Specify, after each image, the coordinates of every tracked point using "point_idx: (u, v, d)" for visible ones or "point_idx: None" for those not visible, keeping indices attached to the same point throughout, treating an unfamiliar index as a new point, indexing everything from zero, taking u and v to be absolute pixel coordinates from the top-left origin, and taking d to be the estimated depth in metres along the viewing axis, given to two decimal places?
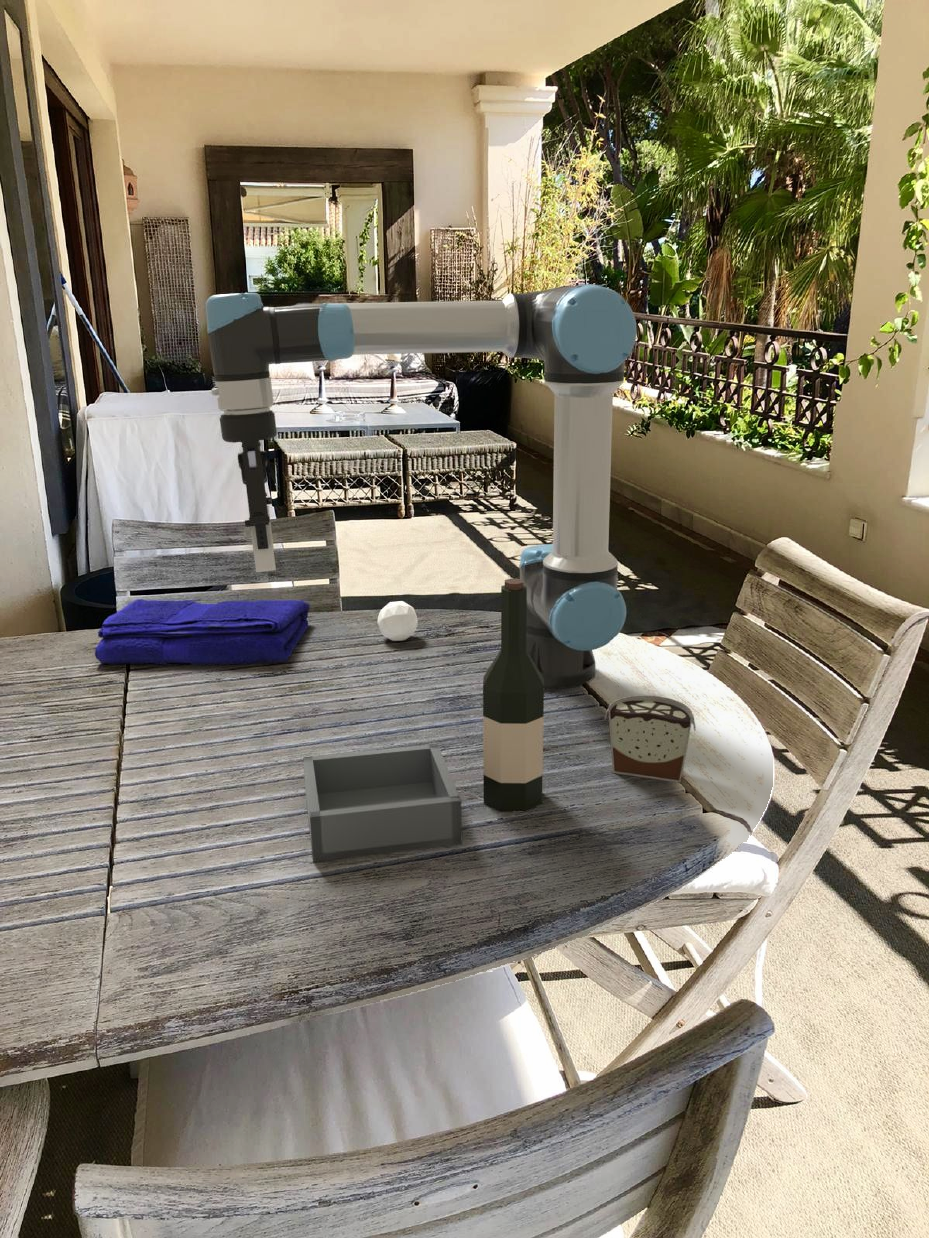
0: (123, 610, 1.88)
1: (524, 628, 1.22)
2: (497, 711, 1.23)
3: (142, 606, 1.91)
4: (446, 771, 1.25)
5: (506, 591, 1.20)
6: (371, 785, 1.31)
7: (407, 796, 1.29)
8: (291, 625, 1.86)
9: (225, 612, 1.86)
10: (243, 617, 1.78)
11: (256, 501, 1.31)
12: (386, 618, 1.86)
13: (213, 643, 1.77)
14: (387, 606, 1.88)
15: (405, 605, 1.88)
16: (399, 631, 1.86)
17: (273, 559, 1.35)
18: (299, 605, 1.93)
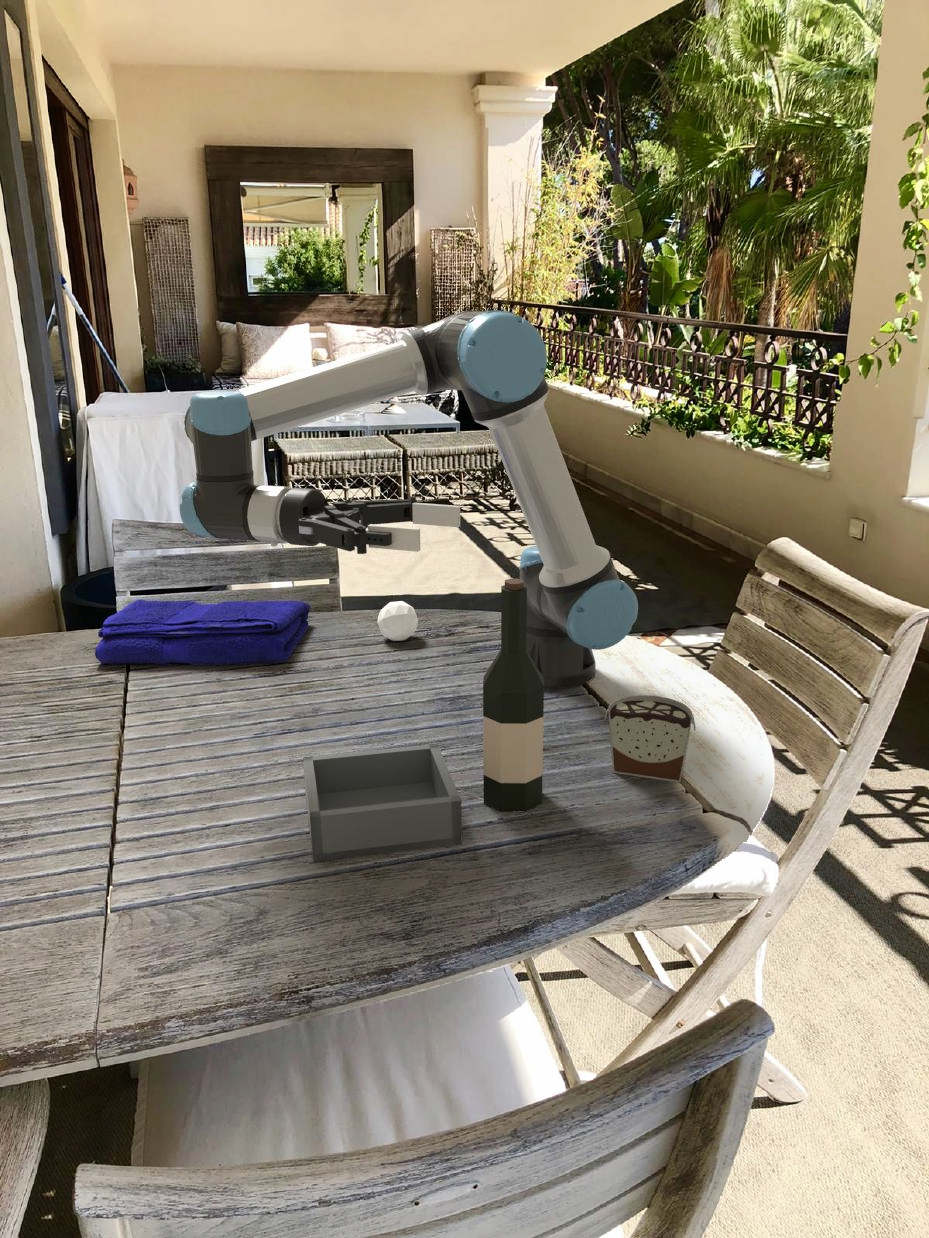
0: (123, 610, 1.88)
1: (524, 628, 1.22)
2: (497, 711, 1.23)
3: (143, 607, 1.91)
4: (446, 771, 1.25)
5: (506, 591, 1.20)
6: (371, 785, 1.31)
7: (407, 796, 1.29)
8: (291, 625, 1.86)
9: (225, 612, 1.86)
10: (243, 617, 1.78)
11: (334, 538, 1.18)
12: (386, 618, 1.86)
13: (213, 643, 1.77)
14: (387, 606, 1.88)
15: (405, 605, 1.88)
16: (399, 631, 1.86)
17: (405, 529, 1.16)
18: (299, 606, 1.93)
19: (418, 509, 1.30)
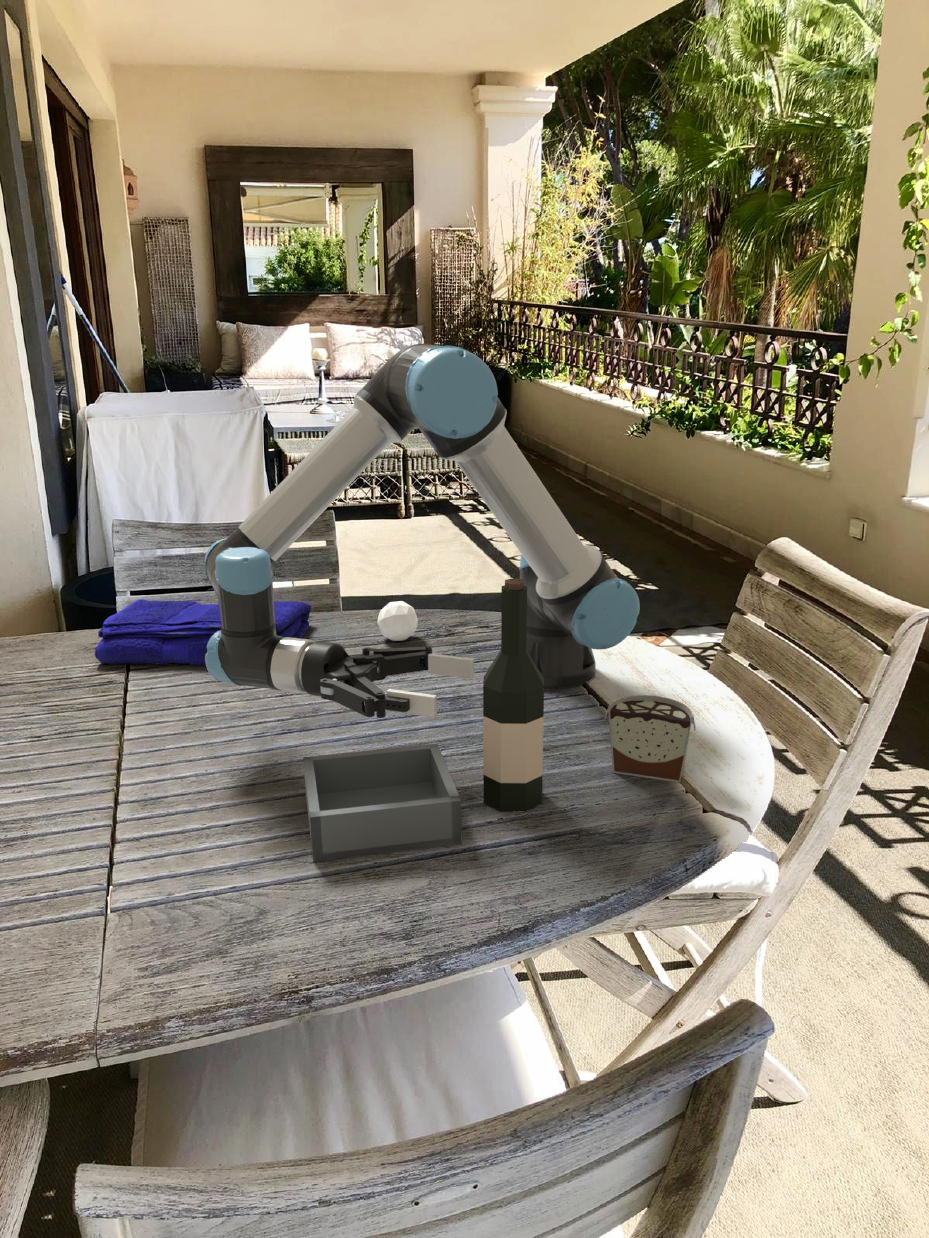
0: (124, 610, 1.88)
1: (524, 628, 1.22)
2: (497, 711, 1.23)
3: (143, 606, 1.91)
4: (446, 771, 1.25)
5: (506, 591, 1.20)
6: (371, 785, 1.31)
7: (407, 796, 1.29)
8: (291, 626, 1.85)
9: None
10: None
11: (354, 703, 1.24)
12: (386, 618, 1.86)
13: None
14: (387, 606, 1.88)
15: (405, 605, 1.88)
16: (399, 631, 1.86)
17: (422, 697, 1.22)
18: (300, 606, 1.93)
19: (433, 660, 1.36)
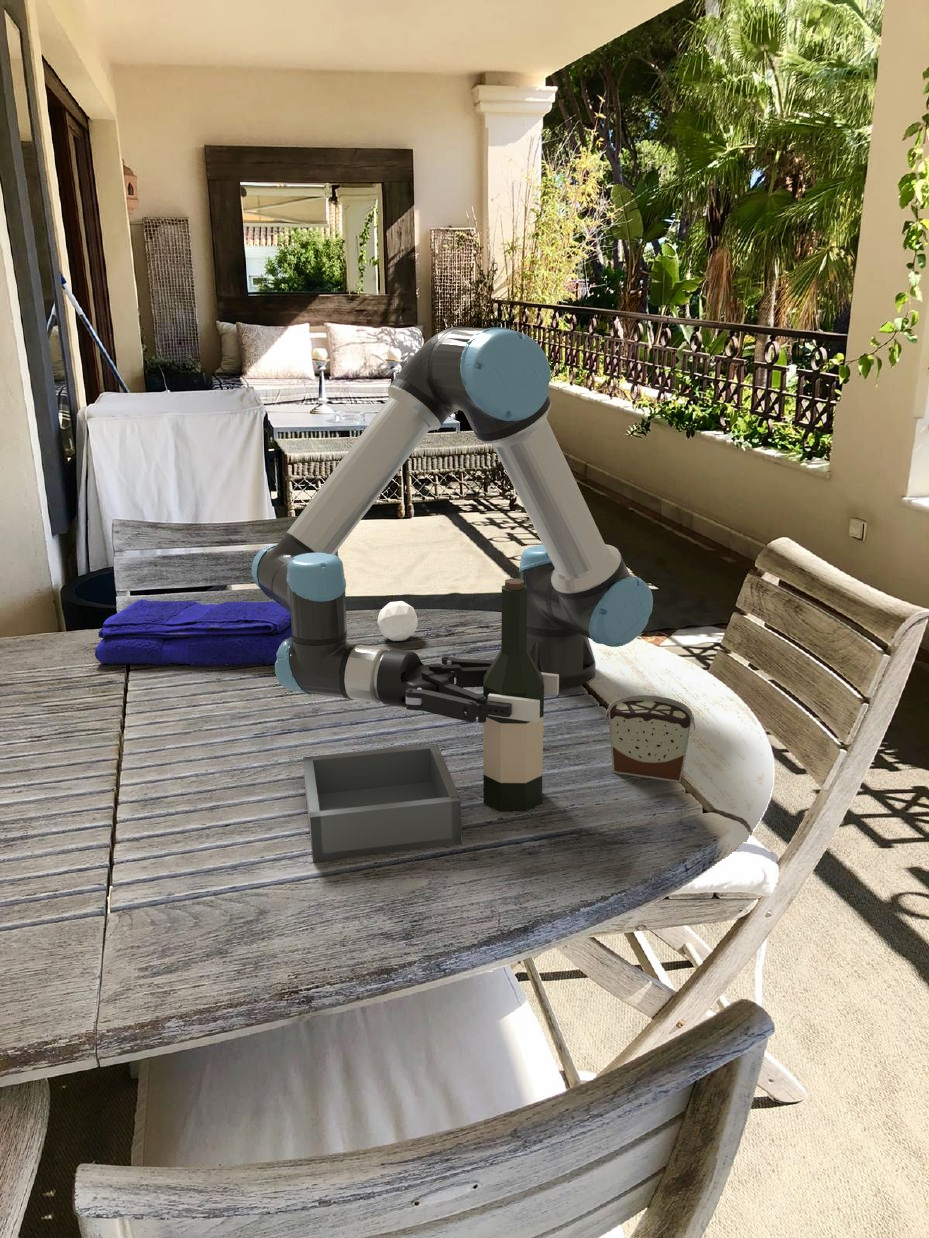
0: (124, 610, 1.88)
1: (524, 628, 1.22)
2: None
3: (144, 607, 1.91)
4: (446, 771, 1.25)
5: (506, 591, 1.20)
6: (371, 785, 1.31)
7: (407, 796, 1.29)
8: (291, 627, 1.85)
9: (226, 613, 1.86)
10: (243, 618, 1.78)
11: (453, 709, 1.21)
12: (386, 618, 1.86)
13: (212, 644, 1.76)
14: (387, 606, 1.88)
15: (405, 605, 1.88)
16: (399, 631, 1.86)
17: (525, 701, 1.20)
18: None
19: None
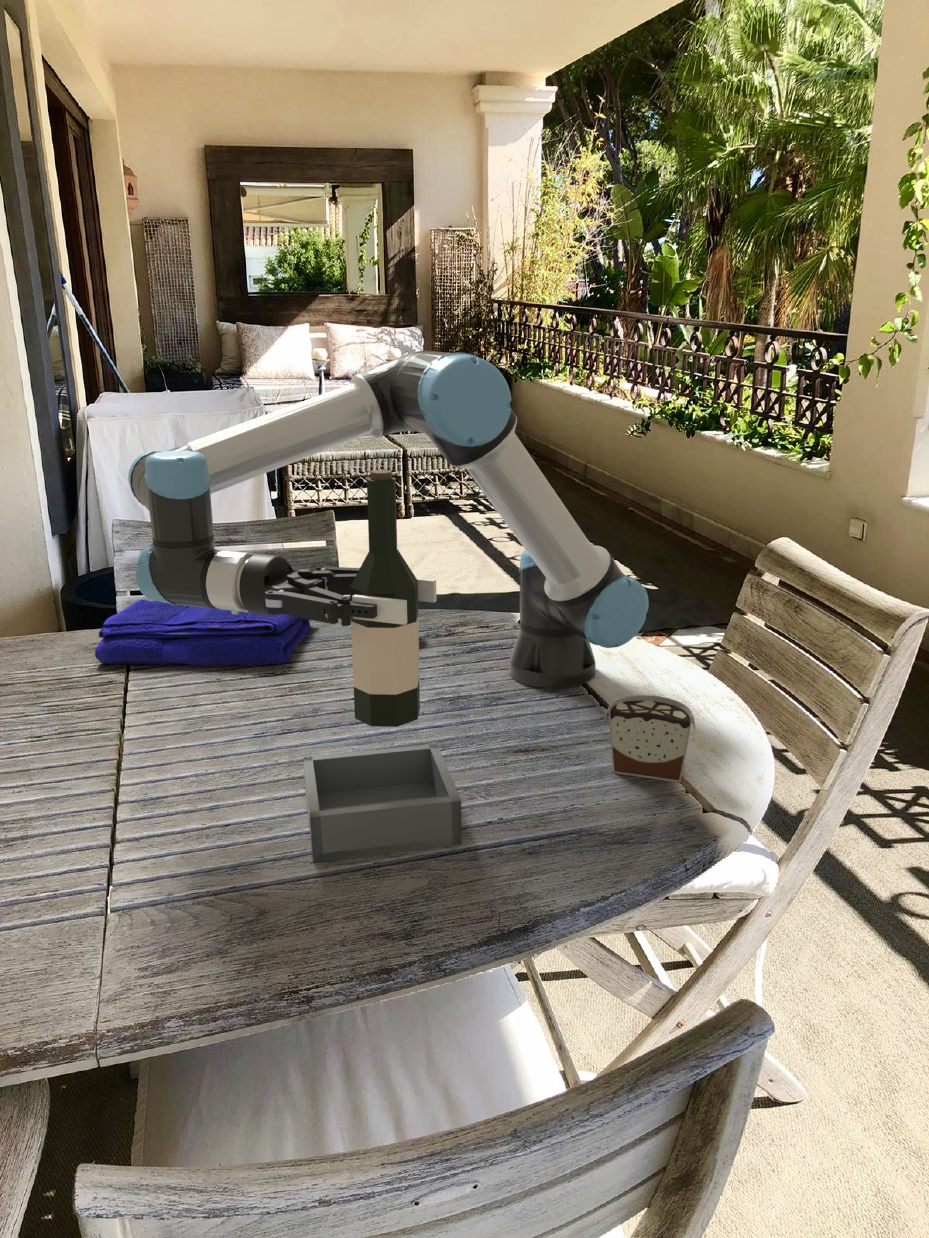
0: (125, 610, 1.88)
1: (393, 523, 1.13)
2: None
3: (145, 607, 1.91)
4: (446, 771, 1.25)
5: (371, 481, 1.11)
6: (371, 785, 1.31)
7: (407, 796, 1.29)
8: (292, 627, 1.85)
9: (226, 613, 1.85)
10: (243, 619, 1.78)
11: (313, 611, 1.12)
12: None
13: (213, 644, 1.76)
14: None
15: None
16: None
17: (391, 601, 1.11)
18: None
19: None
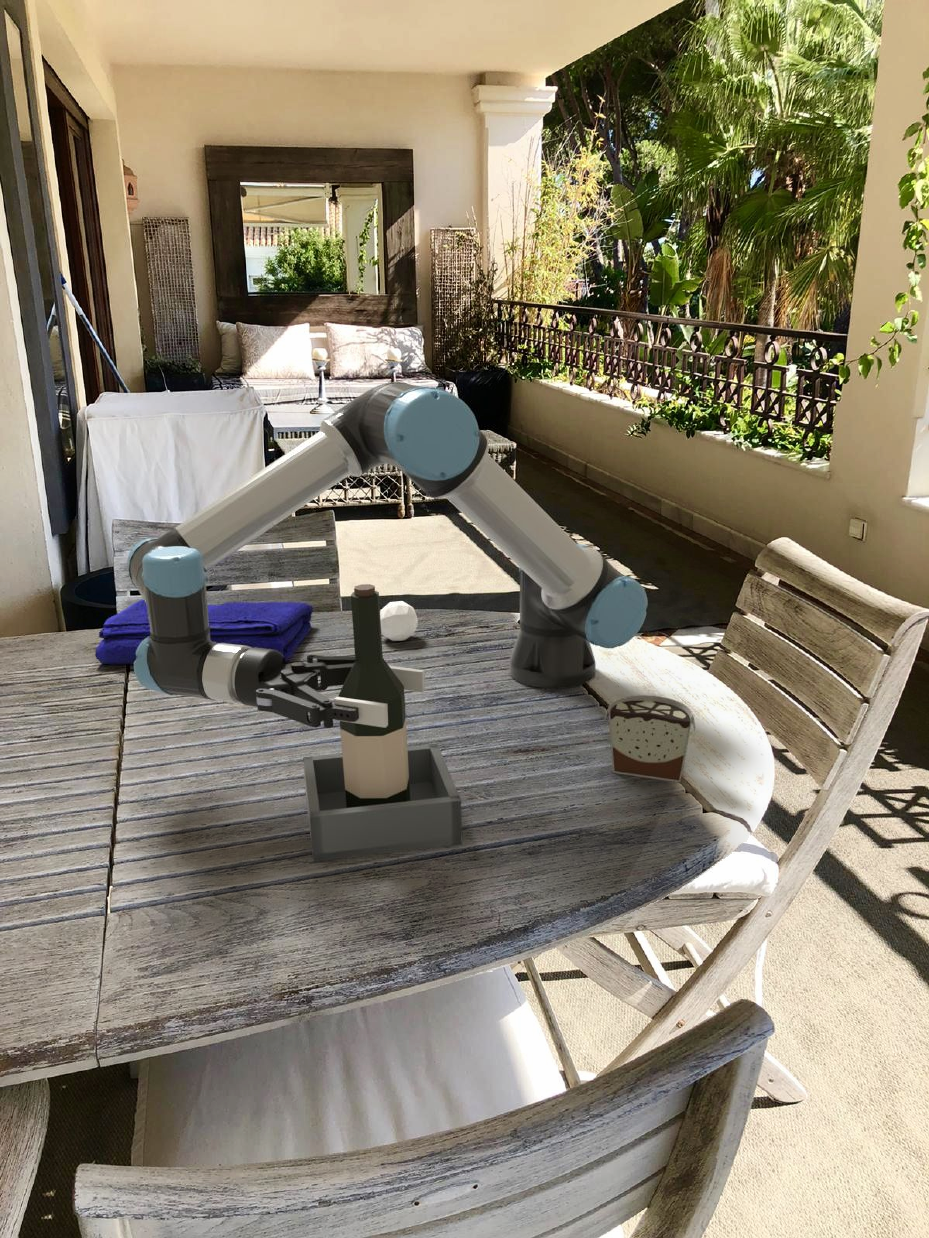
0: (125, 611, 1.88)
1: (377, 636, 1.16)
2: (352, 723, 1.17)
3: (145, 607, 1.91)
4: (446, 771, 1.25)
5: (355, 598, 1.15)
6: None
7: None
8: (292, 627, 1.84)
9: (226, 614, 1.85)
10: (243, 619, 1.77)
11: (298, 713, 1.15)
12: (386, 618, 1.86)
13: None
14: (387, 606, 1.88)
15: (405, 605, 1.88)
16: (399, 631, 1.86)
17: (372, 705, 1.13)
18: (301, 607, 1.92)
19: None
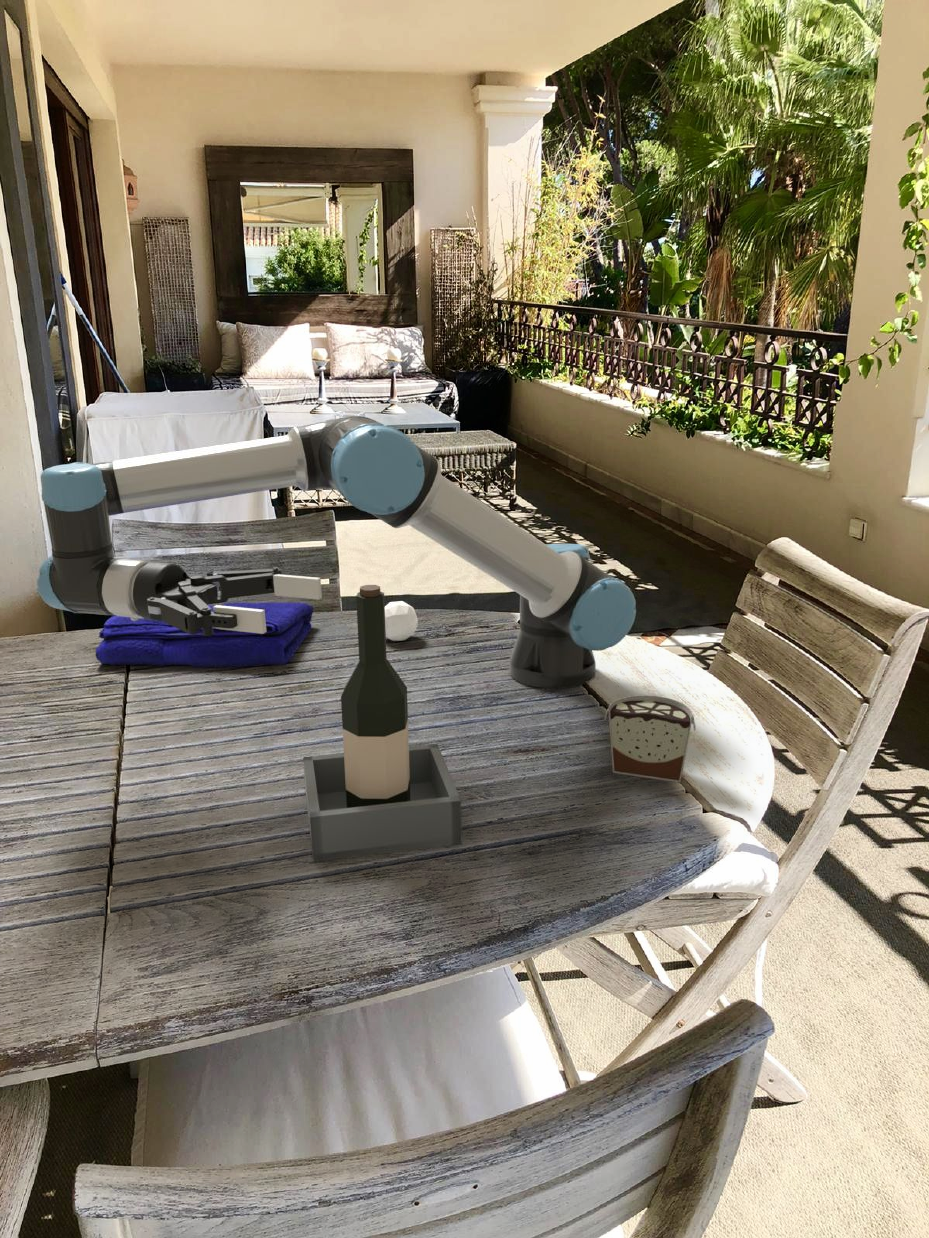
0: None
1: (382, 637, 1.16)
2: (354, 724, 1.17)
3: None
4: (446, 771, 1.25)
5: (360, 598, 1.15)
6: None
7: None
8: (293, 628, 1.84)
9: None
10: None
11: (178, 620, 1.15)
12: (386, 618, 1.86)
13: (213, 645, 1.76)
14: (387, 606, 1.88)
15: (405, 605, 1.88)
16: (399, 631, 1.86)
17: (249, 611, 1.13)
18: (302, 608, 1.92)
19: (279, 581, 1.27)
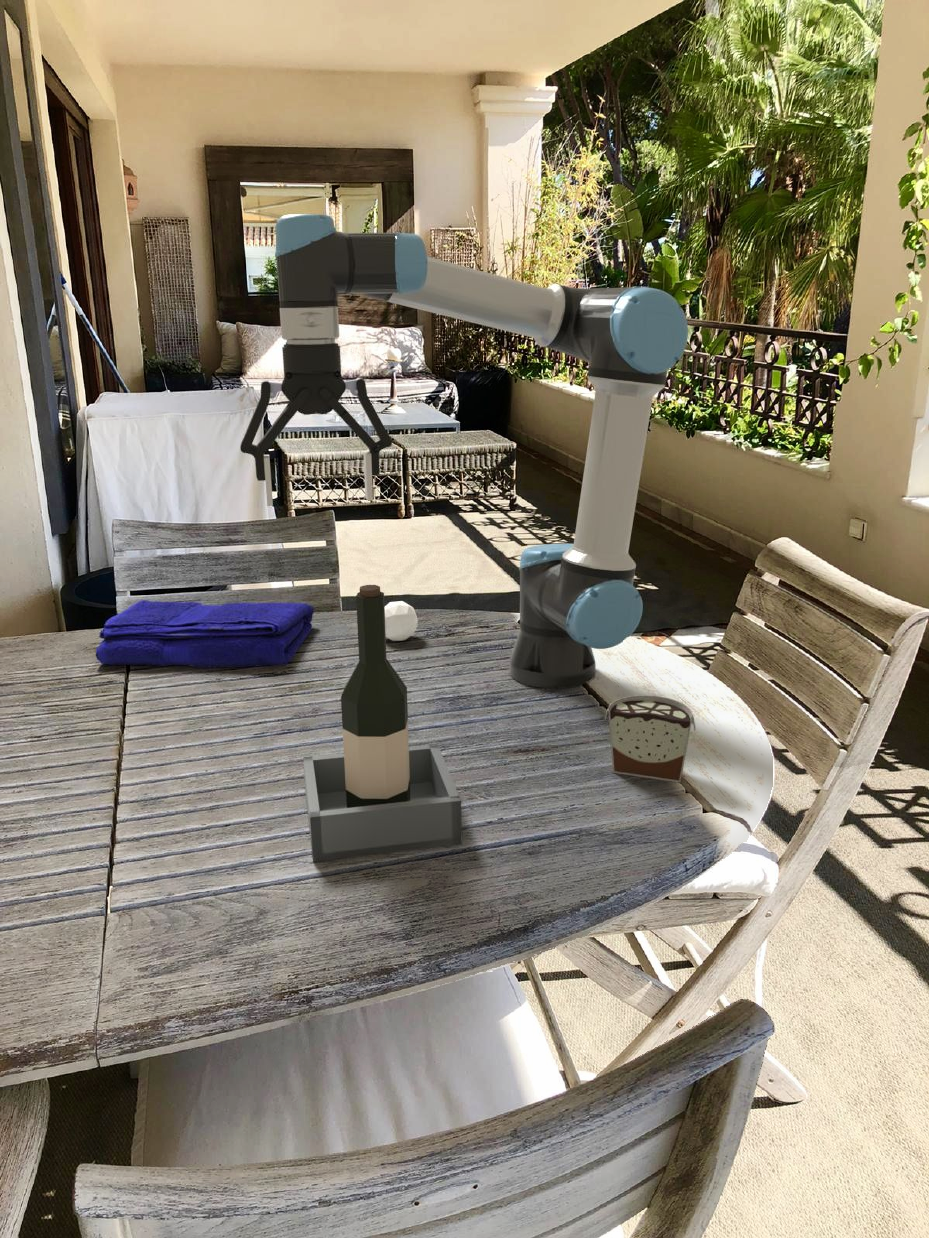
0: (126, 611, 1.88)
1: (381, 637, 1.16)
2: (354, 724, 1.17)
3: (146, 607, 1.90)
4: (446, 771, 1.25)
5: (360, 598, 1.15)
6: None
7: None
8: (293, 628, 1.84)
9: (227, 614, 1.85)
10: (244, 620, 1.77)
11: None
12: (386, 618, 1.86)
13: (213, 646, 1.76)
14: (387, 606, 1.88)
15: (405, 605, 1.88)
16: (399, 631, 1.86)
17: None
18: (302, 608, 1.91)
19: None
